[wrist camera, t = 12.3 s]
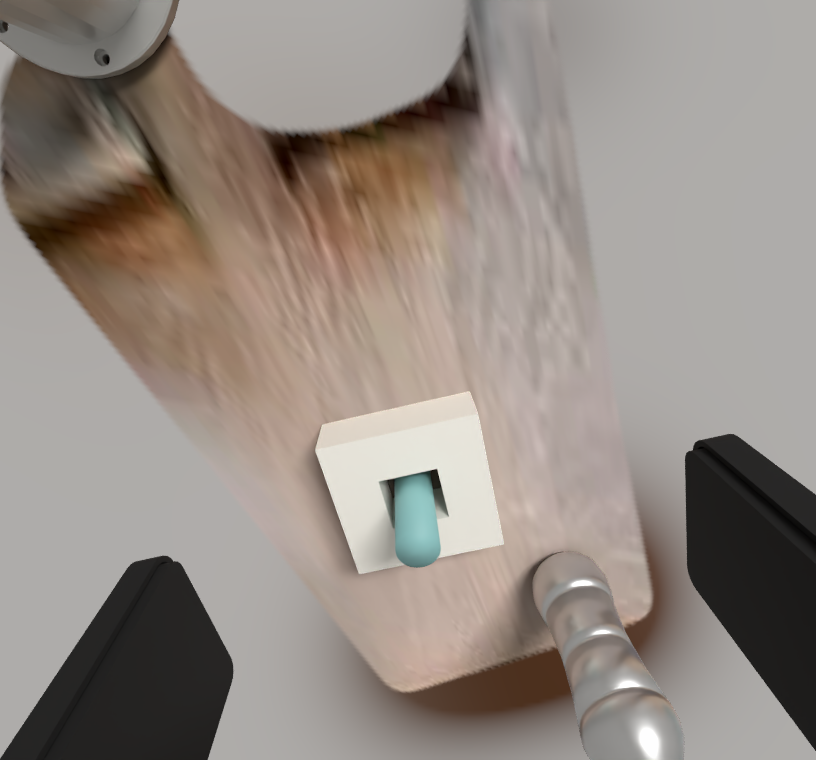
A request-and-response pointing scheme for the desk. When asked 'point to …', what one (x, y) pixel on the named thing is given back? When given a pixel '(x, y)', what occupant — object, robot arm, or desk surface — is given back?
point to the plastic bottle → (603, 665)
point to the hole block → (404, 455)
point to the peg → (416, 520)
